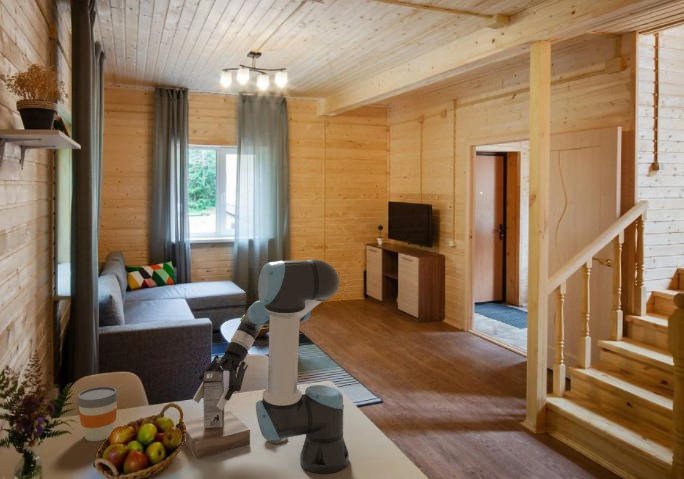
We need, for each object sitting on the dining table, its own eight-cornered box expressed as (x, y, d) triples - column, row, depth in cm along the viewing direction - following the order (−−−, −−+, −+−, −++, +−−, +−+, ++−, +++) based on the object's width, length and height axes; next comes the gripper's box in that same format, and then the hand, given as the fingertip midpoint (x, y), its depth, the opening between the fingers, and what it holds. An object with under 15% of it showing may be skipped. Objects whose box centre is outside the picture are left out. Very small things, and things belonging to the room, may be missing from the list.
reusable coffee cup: (126, 432, 186) (125, 391, 185) (92, 447, 176) (90, 403, 175) (105, 423, 193) (103, 383, 192) (71, 437, 183) (69, 394, 182)
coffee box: (205, 416, 185) (204, 371, 183) (224, 415, 186) (223, 370, 184) (203, 428, 176) (202, 380, 174) (223, 427, 177) (222, 379, 175)
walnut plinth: (250, 443, 179) (249, 429, 178) (196, 458, 169) (196, 443, 168) (229, 423, 194) (229, 410, 193) (179, 436, 184) (179, 422, 183)
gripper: (269, 357, 186) (238, 417, 174) (221, 346, 198) (189, 402, 186) (259, 346, 181) (226, 407, 169) (210, 336, 193) (177, 392, 181)
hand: (207, 404), depth 177 cm, fingers closed on coffee box, 10 cm apart
